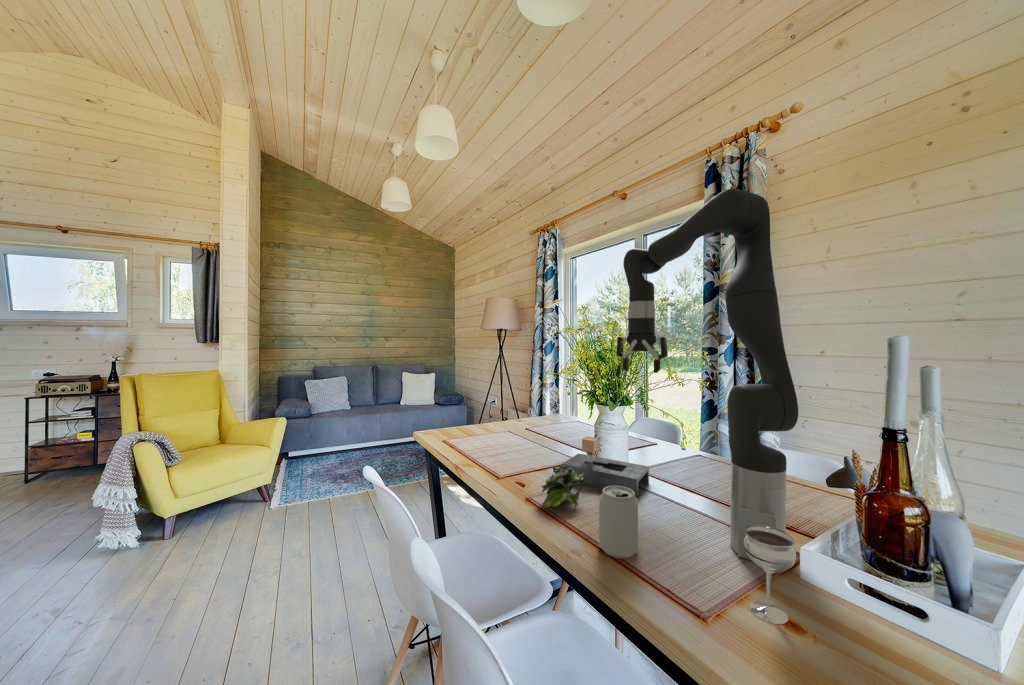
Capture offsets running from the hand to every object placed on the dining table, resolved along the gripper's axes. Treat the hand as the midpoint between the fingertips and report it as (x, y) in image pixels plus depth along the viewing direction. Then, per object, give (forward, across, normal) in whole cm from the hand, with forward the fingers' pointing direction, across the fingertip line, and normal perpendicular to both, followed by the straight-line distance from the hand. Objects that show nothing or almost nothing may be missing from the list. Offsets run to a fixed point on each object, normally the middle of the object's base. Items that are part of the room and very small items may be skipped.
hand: (641, 371), depth 114 cm
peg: (+32, -13, -8) cm, 35 cm away
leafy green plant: (+32, -11, -28) cm, 44 cm away
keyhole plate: (+32, -8, -8) cm, 34 cm away
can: (+32, +7, -41) cm, 53 cm away
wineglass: (+32, +32, -45) cm, 64 cm away
